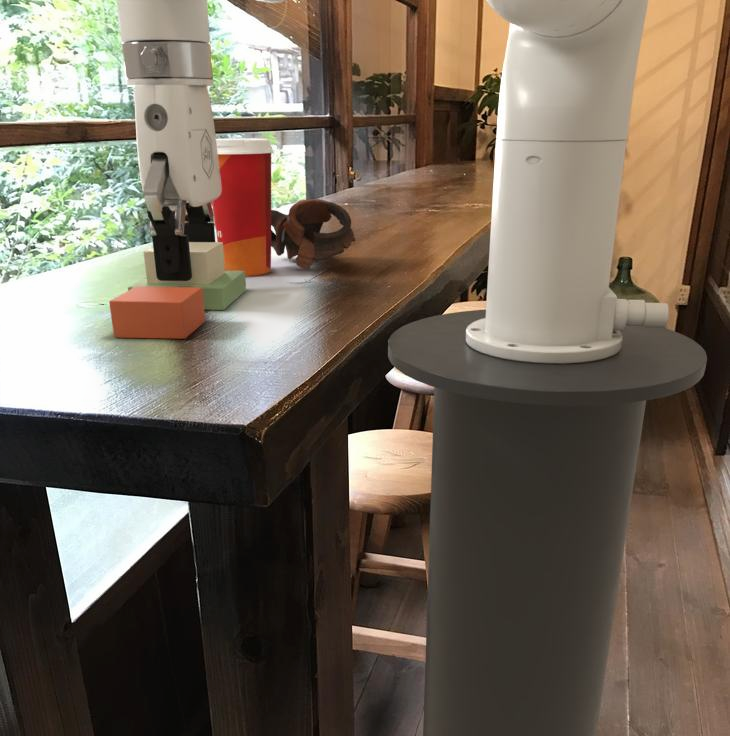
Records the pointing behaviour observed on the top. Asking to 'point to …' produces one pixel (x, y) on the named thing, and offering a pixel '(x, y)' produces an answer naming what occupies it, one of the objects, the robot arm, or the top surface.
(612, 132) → the robot arm
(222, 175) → the paper cup
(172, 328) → the orange rectangular block
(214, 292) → the sage green pad
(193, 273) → the cream rectangular block
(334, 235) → the brown coiled band
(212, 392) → the top surface
